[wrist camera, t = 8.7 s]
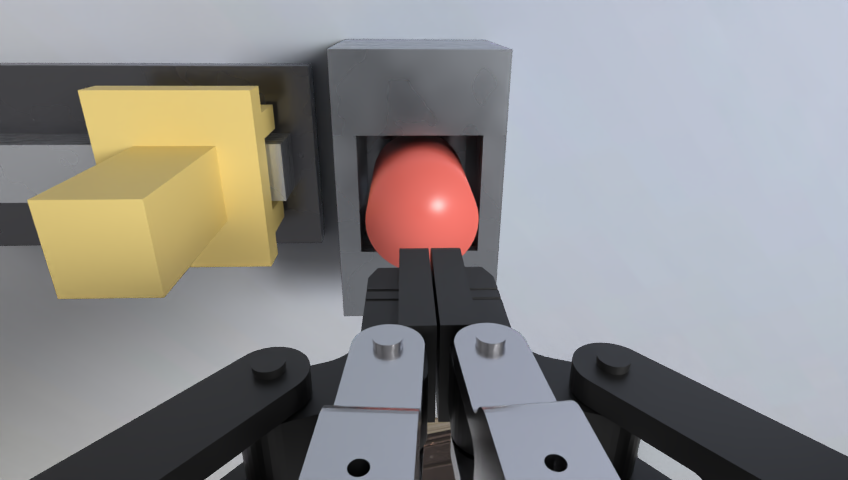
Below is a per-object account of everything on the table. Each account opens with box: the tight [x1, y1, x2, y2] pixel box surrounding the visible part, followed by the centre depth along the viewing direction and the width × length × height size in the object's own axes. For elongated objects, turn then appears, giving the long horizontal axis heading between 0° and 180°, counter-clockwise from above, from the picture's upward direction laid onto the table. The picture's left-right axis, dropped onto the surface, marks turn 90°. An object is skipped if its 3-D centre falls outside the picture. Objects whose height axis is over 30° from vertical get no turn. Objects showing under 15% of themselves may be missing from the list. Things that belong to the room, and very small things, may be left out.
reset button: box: [365, 135, 479, 268], centre depth 19 cm, size 4×4×5 cm
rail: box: [0, 63, 325, 246], centre depth 23 cm, size 8×19×3 cm, turn 90°
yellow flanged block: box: [27, 86, 284, 299], centre depth 19 cm, size 7×6×9 cm
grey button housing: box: [327, 39, 512, 316], centre depth 22 cm, size 10×6×6 cm, turn 0°
